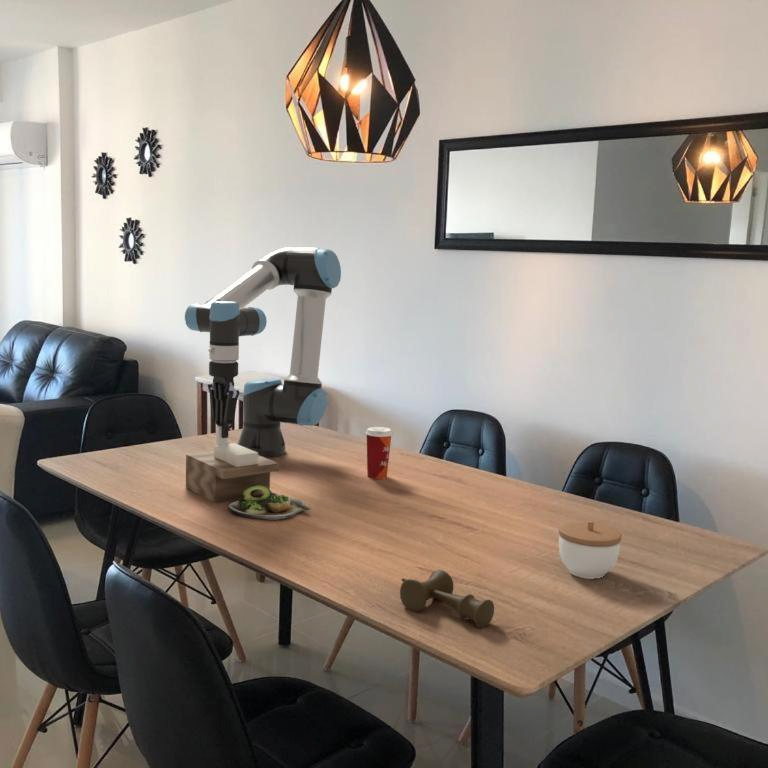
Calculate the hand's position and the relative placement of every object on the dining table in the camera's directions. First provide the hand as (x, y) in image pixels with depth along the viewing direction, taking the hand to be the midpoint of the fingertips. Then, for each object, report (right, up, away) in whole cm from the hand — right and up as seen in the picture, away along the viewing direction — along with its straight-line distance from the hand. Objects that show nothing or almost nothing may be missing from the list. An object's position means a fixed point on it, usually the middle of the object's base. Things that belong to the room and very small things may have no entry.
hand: (222, 449), depth 223 cm
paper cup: (+41, -10, +20) cm, 46 cm away
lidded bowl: (+85, -22, -48) cm, 100 cm away
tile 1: (+2, -2, -2) cm, 4 cm away
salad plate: (+14, -14, -14) cm, 24 cm away
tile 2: (+6, -3, -7) cm, 10 cm away
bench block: (+3, -11, -2) cm, 12 cm away
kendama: (+53, -24, -69) cm, 91 cm away
